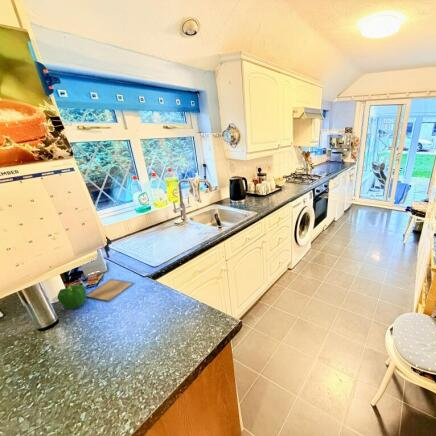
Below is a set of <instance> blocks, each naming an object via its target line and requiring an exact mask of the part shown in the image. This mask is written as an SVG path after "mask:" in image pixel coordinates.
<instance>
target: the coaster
mask: <svg viewBox="0 0 436 436" xmlns="http://www.w3.org/2000/svg"><path fill="white" fill-rule="evenodd" d="M130 286H132V283H131V282H125V281H121V280H114V279H110V280H108V281H107V282H105V283H103V284H102V285H100V286H99V287H97V288H96V289H94V290H93V291H92V292H90V293H88V294H86V298H91V299H96V300H102V301H106V302H110V301H111V300H112V299H114V298H115V297H117V296H118V295H119V294H121V293H122V292H123V291H125V290H126V289H127V288H129V287H130Z"/></svg>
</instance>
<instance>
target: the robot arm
mask: <svg viewBox="0 0 436 436" xmlns="http://www.w3.org/2000/svg"><path fill="white" fill-rule="evenodd" d="M106 239H107V241H106V242H107V245H106V246H105V247H104V246H103V248H104V252H105V255H106V257H107V259H110V254H109V252H110V251H111V249H110V246H109V245H112V244H113V242H112V240H111V239H110V238H109V237H108V236H106Z"/></svg>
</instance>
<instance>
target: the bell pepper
mask: <svg viewBox="0 0 436 436" xmlns="http://www.w3.org/2000/svg"><path fill="white" fill-rule="evenodd" d="M86 296H87V291H86V288H85V286H84V285H83V284H76V283H75V284H74V283H73V284H71V285H69V286H67V287H66V288H65V287H64V288H62V289H59V291H58V294H57V296H56V297H57V300H58V302H59V303H60V304H61V306H62V307H64V308H66V309H71V310H73V309H79V308H80V307H82V306H83V305H84V303H85V301H86V298H87V297H86Z"/></svg>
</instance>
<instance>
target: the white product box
mask: <svg viewBox="0 0 436 436" xmlns="http://www.w3.org/2000/svg"><path fill="white" fill-rule="evenodd" d="M80 268H81V270H82V273H83V275H84V277H85V278H88V277H91V276H95V275H98V274H102V273H105V272H108V267H107V263H106V260H105V257H104V254H103V251H102V248H101V249H99V250H98V257H97V259H96V260H94V261H92V262H90V263H87V264H84V265H82V266H81V265H80ZM95 271H100V272H97V273H94V274H90V273H92V272H95ZM88 274H90V275H88ZM85 275H86V276H85Z"/></svg>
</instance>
